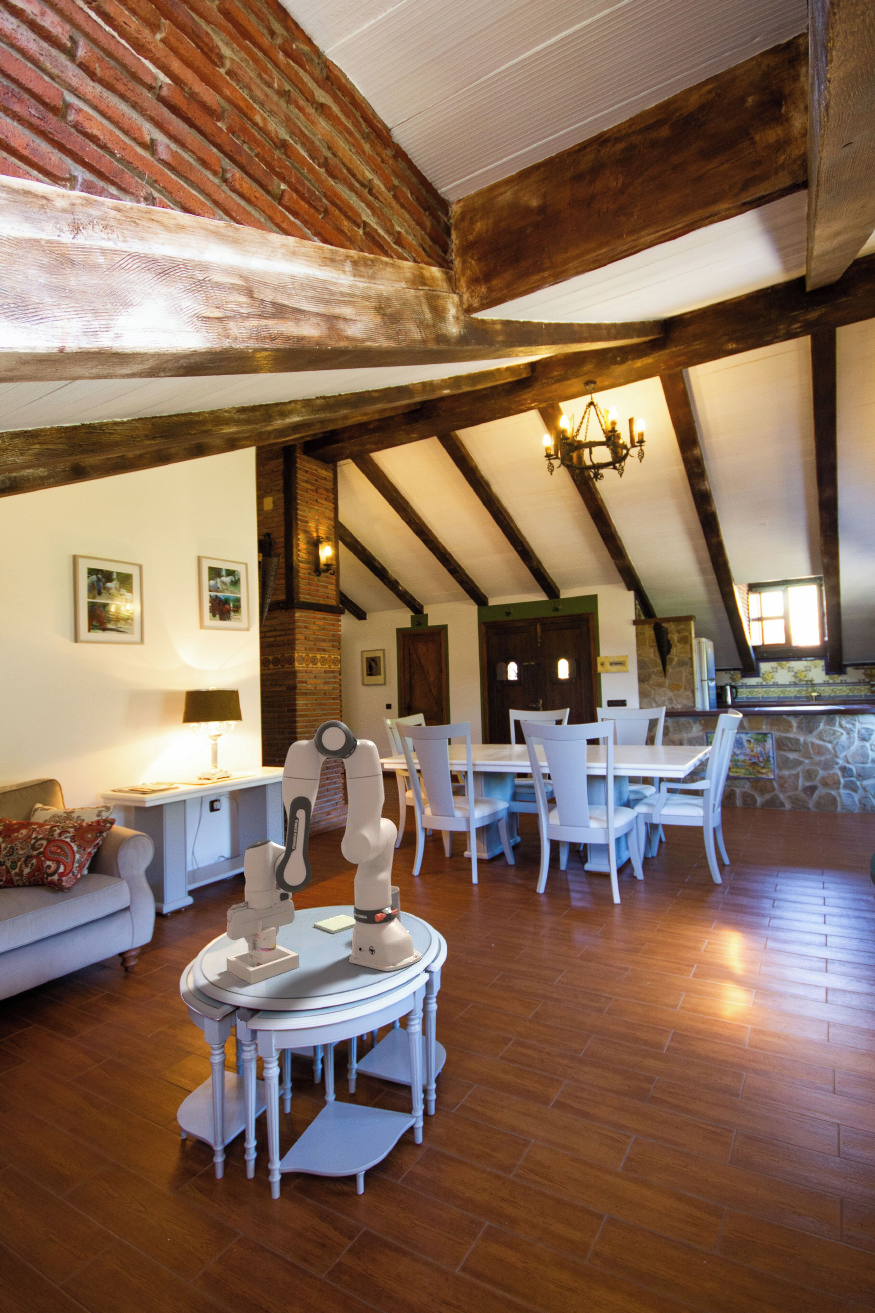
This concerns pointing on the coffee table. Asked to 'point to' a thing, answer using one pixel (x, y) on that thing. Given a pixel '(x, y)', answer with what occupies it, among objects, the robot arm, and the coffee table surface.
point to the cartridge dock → (252, 975)
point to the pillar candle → (396, 900)
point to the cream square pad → (336, 924)
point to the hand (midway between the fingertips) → (262, 947)
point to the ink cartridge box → (263, 946)
